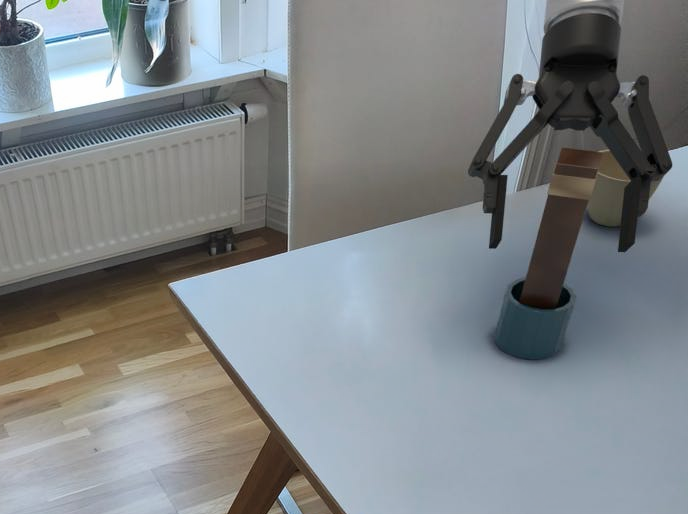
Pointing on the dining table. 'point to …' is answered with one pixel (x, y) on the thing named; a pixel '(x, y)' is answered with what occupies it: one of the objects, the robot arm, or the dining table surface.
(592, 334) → the dining table surface
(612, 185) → the flower pot
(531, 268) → the dark brown long bar
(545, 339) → the holder
